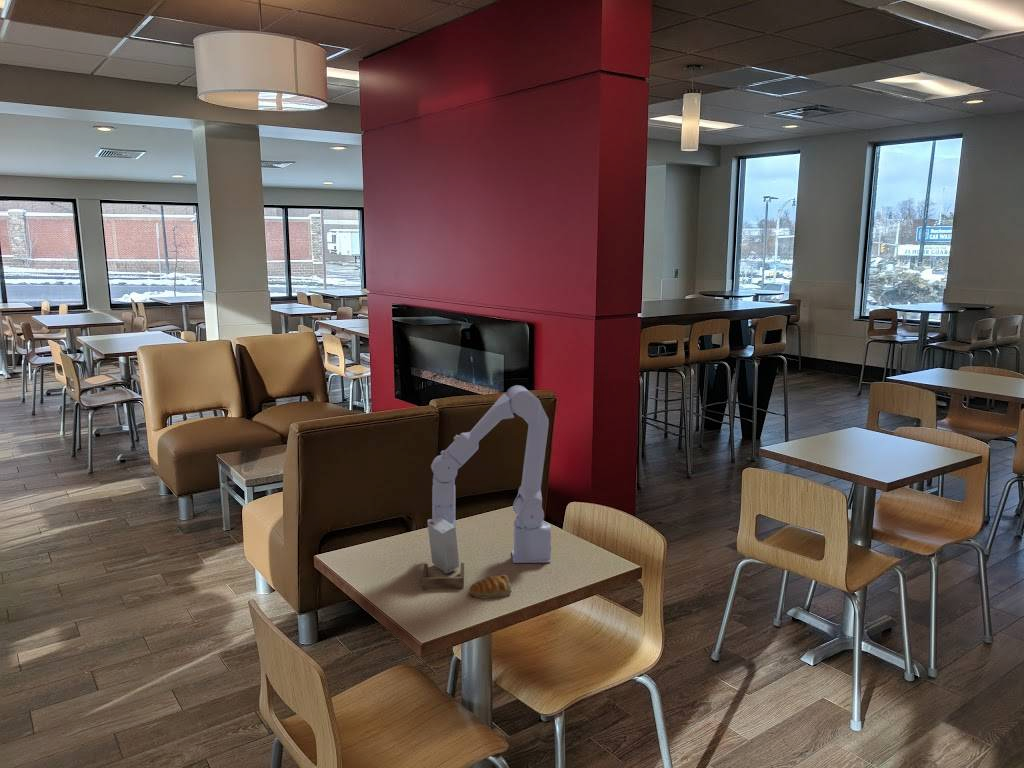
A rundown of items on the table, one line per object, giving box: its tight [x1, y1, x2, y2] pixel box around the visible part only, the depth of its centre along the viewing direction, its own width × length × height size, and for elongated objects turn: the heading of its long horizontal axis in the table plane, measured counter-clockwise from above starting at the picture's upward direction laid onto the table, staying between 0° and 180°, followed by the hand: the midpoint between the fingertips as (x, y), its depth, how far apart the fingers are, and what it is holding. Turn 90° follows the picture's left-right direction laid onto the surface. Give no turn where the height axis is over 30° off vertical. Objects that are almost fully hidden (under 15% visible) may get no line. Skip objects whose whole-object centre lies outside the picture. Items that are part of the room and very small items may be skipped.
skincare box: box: [427, 517, 460, 574], centre depth 180 cm, size 6×4×12 cm
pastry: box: [468, 573, 513, 599], centre depth 170 cm, size 9×7×4 cm
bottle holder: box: [421, 562, 465, 590], centre depth 176 cm, size 10×9×2 cm
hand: (443, 555), depth 186 cm, fingers closed
